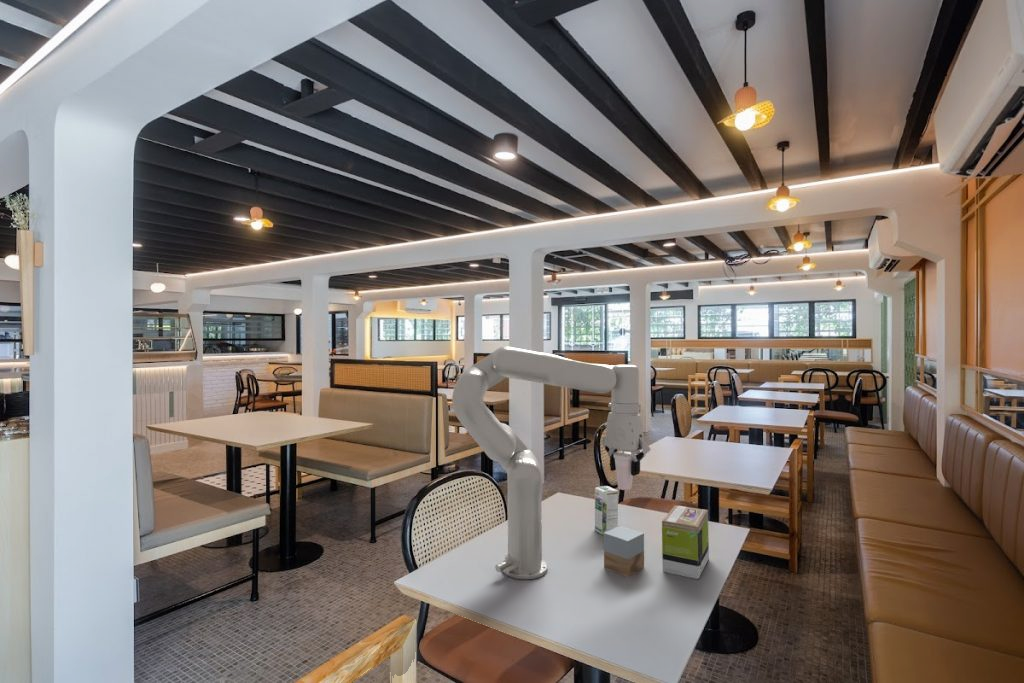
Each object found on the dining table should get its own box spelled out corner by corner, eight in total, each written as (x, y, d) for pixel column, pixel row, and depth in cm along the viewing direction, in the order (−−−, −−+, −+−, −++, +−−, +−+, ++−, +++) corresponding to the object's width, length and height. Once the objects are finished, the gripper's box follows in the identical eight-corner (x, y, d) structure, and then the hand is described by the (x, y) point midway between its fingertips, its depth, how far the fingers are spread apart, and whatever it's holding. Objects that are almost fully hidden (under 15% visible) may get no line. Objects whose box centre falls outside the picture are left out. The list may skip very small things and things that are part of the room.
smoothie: (619, 483, 151) (620, 435, 151) (640, 487, 147) (640, 438, 147) (609, 488, 146) (609, 438, 146) (630, 493, 142) (630, 441, 142)
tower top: (627, 559, 141) (627, 541, 141) (603, 550, 147) (603, 532, 147) (643, 550, 147) (644, 533, 147) (620, 542, 153) (620, 525, 152)
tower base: (628, 577, 141) (628, 559, 141) (604, 568, 147) (604, 550, 147) (644, 568, 147) (644, 550, 147) (619, 559, 153) (619, 542, 153)
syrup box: (593, 530, 175) (593, 487, 174) (608, 527, 177) (608, 485, 177) (603, 536, 169) (603, 492, 169) (618, 533, 172) (618, 489, 172)
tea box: (674, 552, 157) (674, 503, 157) (709, 559, 152) (709, 509, 152) (661, 572, 144) (661, 519, 144) (699, 580, 139) (699, 525, 139)
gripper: (592, 406, 150) (591, 469, 150) (645, 413, 137) (644, 481, 138) (607, 404, 155) (607, 464, 155) (659, 410, 143) (659, 475, 143)
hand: (624, 471), depth 147 cm, fingers closed on smoothie, 6 cm apart
